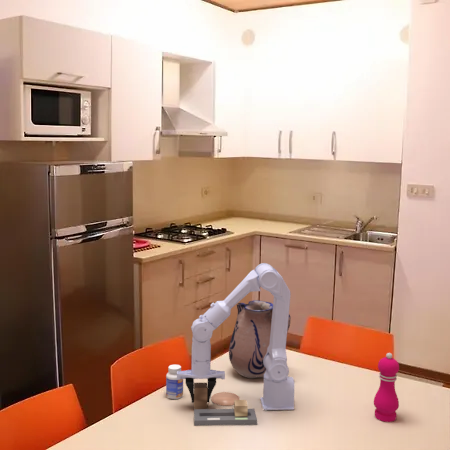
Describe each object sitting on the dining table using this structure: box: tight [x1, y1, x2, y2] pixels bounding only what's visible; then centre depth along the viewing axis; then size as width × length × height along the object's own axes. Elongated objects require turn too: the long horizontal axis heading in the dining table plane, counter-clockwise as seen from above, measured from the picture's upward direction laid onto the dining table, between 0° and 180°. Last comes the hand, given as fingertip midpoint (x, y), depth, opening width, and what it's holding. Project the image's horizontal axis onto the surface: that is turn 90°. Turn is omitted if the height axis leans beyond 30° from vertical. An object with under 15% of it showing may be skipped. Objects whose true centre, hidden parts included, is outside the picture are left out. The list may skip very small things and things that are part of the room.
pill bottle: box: [165, 364, 184, 400], centre depth 181 cm, size 5×5×10 cm
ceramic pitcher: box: [228, 299, 292, 379], centre depth 199 cm, size 18×21×25 cm
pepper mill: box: [373, 352, 400, 423], centre depth 169 cm, size 7×7×20 cm
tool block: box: [193, 382, 208, 410], centre depth 174 cm, size 4×4×7 cm
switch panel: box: [193, 408, 258, 426], centre depth 167 cm, size 18×7×2 cm, turn 94°
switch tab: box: [233, 399, 249, 417], centre depth 167 cm, size 4×4×3 cm
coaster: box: [210, 391, 241, 407], centre depth 180 cm, size 9×9×1 cm
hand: (200, 401), depth 174 cm, fingers closed on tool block, 4 cm apart
